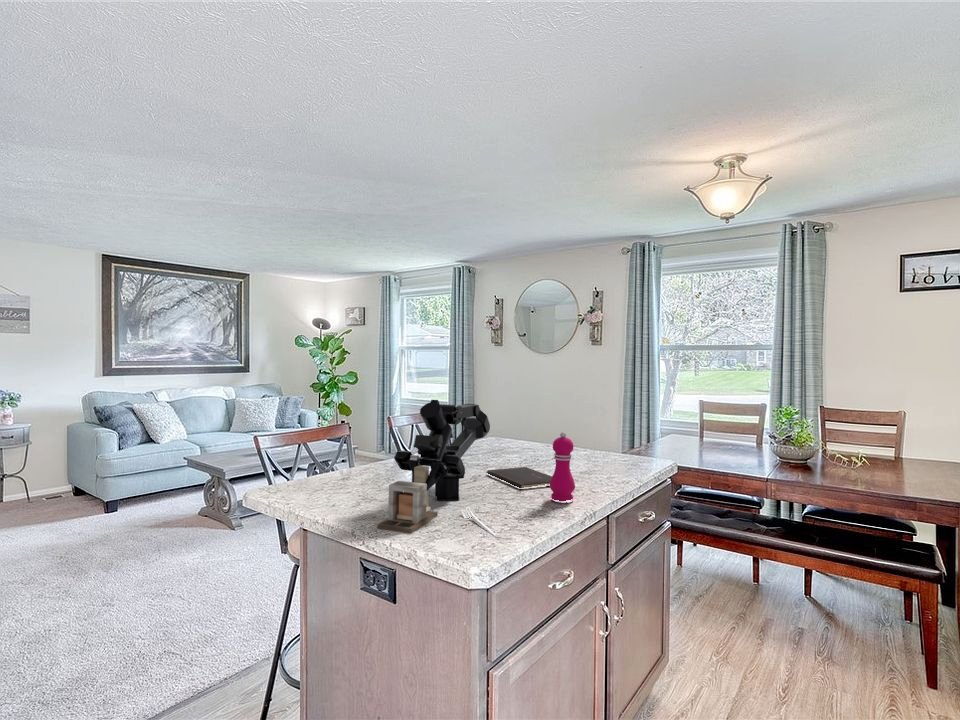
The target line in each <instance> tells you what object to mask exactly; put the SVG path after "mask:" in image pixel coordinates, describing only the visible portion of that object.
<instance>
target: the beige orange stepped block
mask: <svg viewBox="0 0 960 720" xmlns="http://www.w3.org/2000/svg"><path fill="white" fill-rule="evenodd" d="M429 473H430V466H417V467H414V482H415V483H424V484H425V483H426V481H427V478H428V476H429ZM431 507H432V506H429V490H428V491H427V496H426V512H428V511H432V510H431ZM397 519H405V520H413V493H410V492H403V493H401V494H399V514H398V515H397Z"/></svg>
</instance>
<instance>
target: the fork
mask: <svg viewBox="0 0 960 720" xmlns="http://www.w3.org/2000/svg"><path fill="white" fill-rule="evenodd" d="M460 512H461V515H462V518H463V517H464V518H463V519H465V518H469V517H470V519H467V520H466V521H469V520H470V521H472V522H474V523H475V524H476V523H477V525H478V526H479V527H480V526H481V527H480V528H482V529H483V528H484V529H485V530H484V529H483V530H484V531H486V530H487V531H488V532H487V531H486V532H487V533H489V532H490V533H491V534H490V533H489V534H490V535H492V534H493V535H497V534H495V532H493V530H491V528H489V527H488V526H487V525H485V524H484V523H483V522H482V521H481V520H479V518H478V517H476V515H475V514H474V513H473V511H472V510H471V508H470V507H469V506H468V508H467V507H463V508H460ZM466 516H467V517H466ZM472 516H473V517H475V518H471V517H472ZM470 521H469V522H470ZM493 535H492V536H493Z"/></svg>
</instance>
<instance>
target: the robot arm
mask: <svg viewBox="0 0 960 720" xmlns="http://www.w3.org/2000/svg"><path fill="white" fill-rule="evenodd" d="M419 414H420V416H421V419H422V421H423V423H424V425H425V427H426V429H427V430H429V431H430V432H429V434H428V435H427V434H426V435H425V434H416V435H415V438H414V444H413V448H416V449H417V454H418V455H414V454H412V452H411V450H410V451H409V450H397V451H396V453H395V454H394V457H393V459H394V461H395V462H396V465H397V466H398V467H399V469H400V470H402V471H410V472H411V482H414V467H417V466H427V467H429V468H430V470H429V476H428V478H427V481H426V483H425V484H427V491H428V492H429V490H430V489H431V488H432V487H433V486H435V487H434V497H435V498H436V500H437V501H460V479H464V477H465V474H466V468H465V465H464V462H463V460H462V457H463V456H464V455H465V454H466V452H467V451H468V450H469V449H470V447H471V446H472V445H473V444H474V442H475V441H476V440H479V439H483V438H485V437H486V436H487V435H488V433H489V432H490V430H491V429H490V428H491V424H490V421H489V417H488V415H487V414H486V413H485V412H483V410H481V408H480V405H479V404H477V403H463V404H459V405H458V404H443V403H440V402H439V399H431V400H430V402H427V403H425V404H424V405H423V406H422V407H420V409H419ZM459 424H461V426H462V429H463V430H462V431H461V432H460V434H459V435H458V436H457V437H456V438H455V439H454V440H453V441H452V443H451V444H450V445H448V443H449V441H450V439H453V438H454V435H453V428H452V427H451V425H454V426H457V425H459ZM419 455H420V456H419Z"/></svg>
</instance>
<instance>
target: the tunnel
mask: <svg viewBox="0 0 960 720" xmlns="http://www.w3.org/2000/svg"><path fill="white" fill-rule="evenodd" d="M403 492H410V493H413V520H405V519H397V515H398V514H399V494H401V493H403ZM426 496H427V484H424V483H415V482H412V481H404V480H398V481H395V482H393V483H390V484H389V485H388V508H387V509H388V513H387V515H388V516H387V517H388V518H386V519H383V520H382V521H380V522H378V523H377V527H376V528H377V529H381V530H386V531H387V530H388V531H393V530H394V532H401V533H407V534H409V533H410V534H412V533H414V532H415V531H417V530H418V529H420V528H421V527H423V526H424V525H426V524H427V523H429V522H431V521H432V520H434V519H435V518H437V517H438V514H439V513H438V511H433V510H429V511H428V512H426Z"/></svg>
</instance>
